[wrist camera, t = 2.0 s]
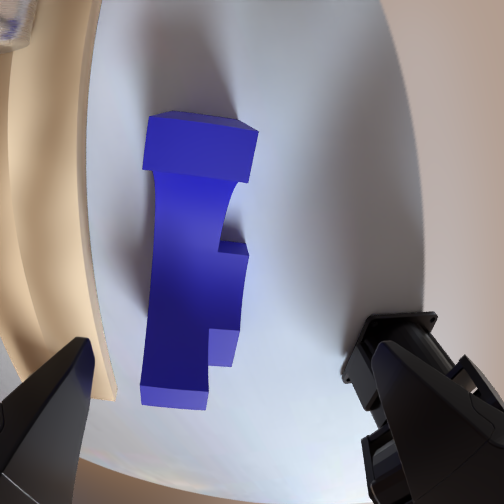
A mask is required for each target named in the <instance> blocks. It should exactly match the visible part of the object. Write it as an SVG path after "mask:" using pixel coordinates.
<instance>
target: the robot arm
mask: <svg viewBox="0 0 504 504" xmlns="http://www.w3.org/2000/svg"><path fill="white" fill-rule="evenodd" d="M437 318H438V316H437V315H436V313H435V312H418V313H402V314H384V315H372V316H370V317H369V318H368V319H367V320H366V322H365V324H364V327H363V329H362V332H361V334H360V337H359V339H358V341H357V344H356V346H355V348H354V351H353V353H352V355H351V357H350V360H349V362H348V364H347V366H346V369H345V371H344V373H343V375H342V380H343V382H344V383H345V384H348V383H352V384H353V387H354V389H355V391H356V393H357V395H358V398H359V400H360V402H361V404H362V406H363V408H364V410H365V411H370V412H371V414H372V416H373V418H374V420H375V422H376V425H377V427H378V430H377V431H375V432H374V433H372V434H371V435H367V436H366V437H364V438H363V439H361V444H362V450H363V457H364V464H365V471H366V479H367V487H368V494H369V497H370V499H371V500H372V501H373V503H374V504H504V402H503V401H502V399H501V397H500V396H499V394H498V393H497V391H496V390H495V388H494V387H493V386H492V385H491V383H490V382H489V381H488V379H487V378H486V377H485V375H484V374H483V373H482V372H481V371H480V369H479V368H478V367H477V366H476V365H475V364H474V363H473V362H472V361H471V360H470V359H469V358H468V357H467V356H466V355H464V356H462V358H460V360H459V362H458V363H457V364H456V365H455V364H454V363H453V361H452V360H451V359H450V357H449V356H448V355H447V353H446V352H445V351H444V350H443V349H442V347H441V346H440V344H439V343H438V342H437V341H436V339H435V338H434V337H433V335H432V334H431V333H430V332H431V330H432V329H433V327H434V325H435V322H436V321H437ZM373 322H374V323H373ZM94 369H95V356H94V352H93V349H92V345H91V341H90V339H89V338H87V337H79V336H77V337H75V338H74V339H72V340H71V341H70V342H69V343H68V344H66V345H65V346H64V347H63V348H62V349H61V350H59V351H58V352H57V353H56V354H55V355H53V356H52V357H51V358H50V359H49V360H48V361H47V362H45V363H44V364H43V365H42V366H41V367H40V368H38V369H37V370H36V371H35V372H34V373H33V374H32V375H30V376H29V377H28V378H27V379H26V380H25V381H24V382H23V383H21V384H20V385H19V386H18V387H17V388H16V389H15V390H14V391H13V392H11V393H10V394H9V395H8V396H7V397H6V398H5V399H4V400H3V401H2V403H0V504H72V497H73V490H74V483H75V477H76V471H77V465H78V460H79V454H80V449H81V444H82V439H83V434H84V430H85V425H86V421H87V416H88V411H89V406H90V398H91V390H92V383H93V375H94ZM476 387H477V388H478V389H477V390H476V391H475V392H474V393H473V394H472V393H470V392H471V391H472V390H473V389H475V388H476Z"/></svg>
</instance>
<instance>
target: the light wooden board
mask: <svg viewBox="0 0 504 504" xmlns="http://www.w3.org/2000/svg"><path fill="white" fill-rule="evenodd" d="M101 3H102V0H38V2H37V7H36V11H35V16H34V20H33V25H32V31H31V36H30V42H29V45H28V46H27V47H25V48H22V49H19V50H16V51H12V52H8V53H3V54H0V336H1V339H2V341H3V343H4V346H5V348H6V350H7V352H8V354H9V357H10V359H11V361H12V363H13V365H14V367H15V369H16V371H17V373H18V375H19V377H20V379H21V381H22V383H23V382H24V381H25V380H26V379H27V378H28V376H29V375H30V374H31V373H32V372H34V371H35V370H37V369H38V368H40V367H41V366H42V365H43V364H44V363H45V362H47V361H48V360H49V359H50V358H51V357H52V356H53V355H55V354H56V353H57V352H58V351H59V350H61V349H62V348H63V347H64V346H65V345H66V344H68V343H69V342H70V341H71V340H72V339H74V338H75V337H77V336H79V337H87V338H89V339H90V341H91V345H92V349H93V352H94V356H95V369H94V375H93V383H92V390H91V398H94V399H101V400H108V401H115V400H116V395H117V390H118V388H117V385H116V381H115V377H114V373H113V370H112V366H111V361H110V357H109V353H108V349H107V344H106V340H105V335H104V330H103V325H102V320H101V315H100V309H99V303H98V297H97V291H96V285H95V278H94V271H93V263H92V254H91V245H90V235H89V223H88V209H87V189H86V125H87V106H88V92H89V81H90V71H91V62H92V55H93V47H94V41H95V34H96V28H97V23H98V17H99V12H100V7H101Z"/></svg>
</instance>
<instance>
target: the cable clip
mask: <svg viewBox="0 0 504 504" xmlns="http://www.w3.org/2000/svg"><path fill="white" fill-rule="evenodd" d="M258 133H259V131H257V130H255V129H253V128H252V127H250V126H248V125H247V124H245V123H243V122H241V121H239V120H236V119H230V118H224V117H217V116H210V115H203V114H196V113H188V112H180V111H169V112H165V113H161V114H157V115H153V116H149V120H148V127H147V134H146V142H145V150H144V158H143V168H142V170H151V171H152V172H153V175H154V181H155V229H154V246H153V260H152V273H151V285H150V296H149V308H148V318H147V328H146V338H145V348H144V357H143V365H142V373H141V381H140V393H141V403H142V405H149V406H158V407H167V408H178V409H191V410H206V405H207V399H208V394H209V385H208V366H224V367H232V363H233V359H234V354H235V350H236V346H237V341H238V337H239V333H240V321H241V307H242V297H243V289H244V282H245V276H246V270H247V264H248V259H249V253H248V250H247V246H246V243H238V242H230V241H222V240H220V237H221V232H222V227H223V222H224V218H225V214H226V211H227V207H228V204H229V201H230V198H231V195H232V192H233V190H234V188H235V186H236V184H237V183H238V182H243V183H248V181H249V176H250V171H251V166H252V162H253V157H254V152H255V147H256V142H257V137H258Z"/></svg>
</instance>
